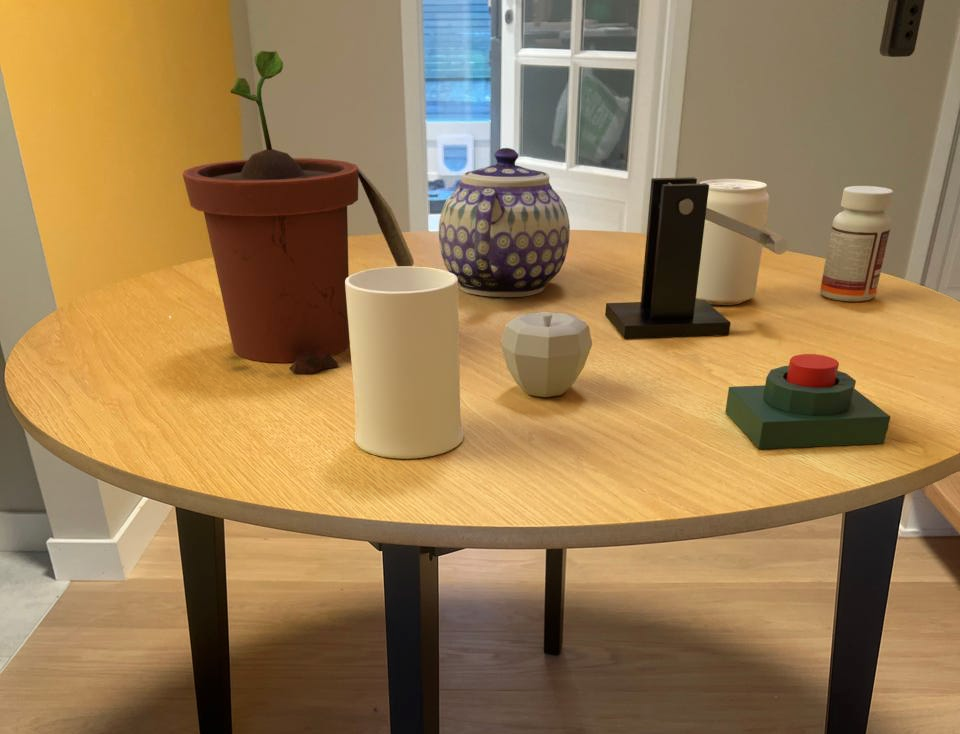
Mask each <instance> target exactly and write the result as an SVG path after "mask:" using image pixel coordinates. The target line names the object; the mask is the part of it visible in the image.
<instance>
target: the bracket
mask: <svg viewBox="0 0 960 734" xmlns="http://www.w3.org/2000/svg"><path fill="white" fill-rule="evenodd" d="M668 182H669V183H671V184H667V183H668ZM697 182H698V178H697V177H695V176H694V177H693V176H692V177H690V176H689V177H688V176H687V177H652V178H651V182H650V192H649V203H648V213H647V216H648V217H647V225H646V227H647V228H646V237H645V249H644V259H643V271H642V284H641V295H640V301H629V302H628V301H627V302H624V301H623V302H606V303H605V314H604V315H605V316H606V318H607V319H608V320H609V322H610V323H611V324H612V326H613V327H614V328H615V329H616V330H617V332H618V333H619V334H620V336H621V337H622V339H624V340H626V339H627V340H629V339H631V340H632V339H655V338H658V339H659V338H682V337H686V338H687V337H709V336H710V337H711V336H730V330H731V321H730V320H729V319H727V318H726V317H725V316H724V315H723V314H722V313H721V312H719V311H718V310H717V309H716V308H715V307H713V305H712V304H709V303H707V302H706V301H705V300H696V293H697V284H698V276H699V267H700V259H701V250H702V242H703V234H704V225H705V217H706V208H707V200H708V191H709V185H708V184H706V183H705V184H700V183H697ZM660 200H661V202H660ZM659 202H660V208H658V204H659Z"/></svg>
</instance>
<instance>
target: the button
mask: <svg viewBox="0 0 960 734" xmlns="http://www.w3.org/2000/svg"><path fill="white" fill-rule="evenodd" d="M788 366H789V369H788V374H787V380H786V381H787V382H790V383H793V384H796V385H799V386H807V387H815V388H819V387H831V386H834V385H835V380H836V376H837V371H839V366H840V363H839V361H838V360H837V359H835V358H833V357H831V356H828V355H825V354H816V353H802V354H795V355H794V356H791V358H790V359H789V363H788Z"/></svg>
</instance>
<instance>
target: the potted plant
mask: <svg viewBox="0 0 960 734" xmlns="http://www.w3.org/2000/svg"><path fill="white" fill-rule="evenodd" d="M254 64H255V66H256V71H257V73H258V75H259V76H260V78H259V80H258V82H257V84H256V94H252V92H251V87H250V85H249V84H250V83H249V82H248V80H247V79H246V78H243V77H237V78H236V81H235V83H234V85H233V87H232V88H231V90H230V94H234V95H237V96H239V97H242V98H245V99H247V100H249V101H253V102H255V103H256V104H257V106H258V112H259V117H260V123H261V128H262V133H263V138H264V143H265V148H266V149H264V150H261V151H258V152H255V153H253V154H251V156H249V158H248V159H237V160H227V161H219V162H212V163H205V164H199V165H196V166H192V167H190V168H187V169H185V170H183V172H182V177H183V182H184V186H185V190H186V193H187V197H188V201H189V205H190V207H191V208H193V209H194V210H196V211H198V212H203V215H204V220H205V224H206V230H207V234H208V238H209V243H210V248H211V251H212V257H213V262H214V267H215V271H216V275H217V280H218V285H219V289H220V293H221V298H222V302H223V307H224V312H225V317H226V321H227V326H228V330H229V335H230V340H231V344H232V345H231V346H232V349H233V352H234V353H235V354H237V356H239V357H242V358H243V359H247V360H250V361H255V362H256V361H257V362H263V363H279V364H280V363H283V364H285V363H287V364H288V363H292V364H291V365H290V366H289V369H290V371H291V372H292V373H293V374H316V373H318V372H320V371H322V370H325V369H332V368H337V367H339V364H338V362H337V360H336V359H335V358H334V357H333V356H335V355H337V354H339V353H341V352H343V351H345V350H346V349H347V348H348V347H350V337H349V325H348V313H347V301H346V289H345V280H346V278H347V277H349V276H350V275H349V274H350V273H349V229H348V228H349V227H348V226H349V224H348V206H352V205H354V204H355V203H356V202H358V201H359V182H360V184H361V186H362V188H363V190H364V192H365V195H366V197H367V199H368V201H369V204H370V206H371V208H372V211H373V212H374V215H375V217H376V221H377V224H378V226H379V229H380V231H381V233H382V235H383V238H384V240H385V242H386V244H387V246H388V249H389V251H390V253H391V255H392V257H393V260H394V262H395V264H396V267H397V266H414V264H415V261H414V258H413V256H412V253H411V251H410V249H409V246H408V244H407V241H406V239H405V237H404V235H403V232H402V230H401V228H400V225H399V223H398V221H397V219H396V216H395V214H394V212H393V209H392V207H391V206H390V205H389V203H388V201H386V200H385V198H384V197H383V195H382V194H381V193H380V191H379V190H378V188H377V187H376V186H375V185H374V184H373V182H372V181H371V180H370V179H369V178H368V176H366V174H365V173H364V172H363V171H362V170H361V169H360V168H359V166H358V164H355V163H353V162H349V161H345V160H344V161H343V160H338V159H337V160H336V159H327V158H311V157H292V156H291V155H290V154H289V153H287V152H285V151H284V152H283V151H281V150H277V149H274V148H273V147H272V141H271V137H270V132H269V128H268V124H267V120H266V119H267V118H266V115H265V110H264V106H263V100H262V99H263V98H262V88H263V85H264V83H265V80H267V79H268V80H269V79H271V78H274V77H275V76H277V75H278V74H281V72H282V71H283V69H284V62H283V60H282V59H281V58H280V55H279V54H278V51H277V50H274V51H267V50H266V51H265V50H260V51H258V52H256V53H255V56H254Z"/></svg>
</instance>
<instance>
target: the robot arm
mask: <svg viewBox="0 0 960 734" xmlns="http://www.w3.org/2000/svg"><path fill="white" fill-rule="evenodd" d="M925 1H926V0H888V2H887V8H886V13H885V18H884V22H883V23H884V24H883V29H882V34H881V41H880V46H879V55H881V56H882V57H889V58H900V57H904V58H905V57H910V56H912V55H913V54H914V52H915V50H916V45H917V42H918V41H917V40H918V36H919V30H920V26H921V19H922V16H923V11H924V6H925Z"/></svg>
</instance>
